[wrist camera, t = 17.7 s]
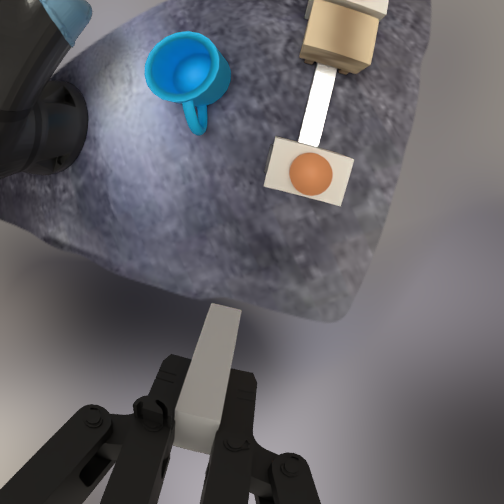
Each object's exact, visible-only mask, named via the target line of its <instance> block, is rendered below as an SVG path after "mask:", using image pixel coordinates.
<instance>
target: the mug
mask: <svg viewBox="0 0 504 504" xmlns="http://www.w3.org/2000/svg"><path fill="white" fill-rule="evenodd" d="M145 79H146V82H147V85H148V87H149V88H150V89H151V91H152V92H153V94H155V95H157V96H158V97H160V98H161V99H163V100H167V101H171V102H175V103H180V104H182V105H183V110H184V114H185V117H186V120H187V123H188V126H189V128H190V130H191V131H192V133H194V134H195V135H198V136H200V135H202V134H203V133H204V132H205V131H206V129H207V105H209V104H212V103H214V102H215V101H217V100H218V99H220V98H221V97H222V96H223V94H224V93H225V92H226V91H227V89H228V86H229V84H230V81H231V70H230V67H229V64H228V62H227V61H226V60H225V58H224V57H223V56H222V54H221V53H220V52H219V50H218V49H217V48H216V47H215V45H214V44H213V43H212V42H211V41H210V39H209V38H207V37H205V36H203V35H202V34H200V33H195V32H190V31H186V32H178V33H174V34H172V35H170V36H167V37H165V38H164V39H163V40H161V41H160V42H159V43H157V44H156V45H155V47H154V48H153V49H152V51H151V52H150V53H149V55H148V58H147V61H146V63H145ZM195 107H197V110H198V118H197V115H196V111H195Z"/></svg>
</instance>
